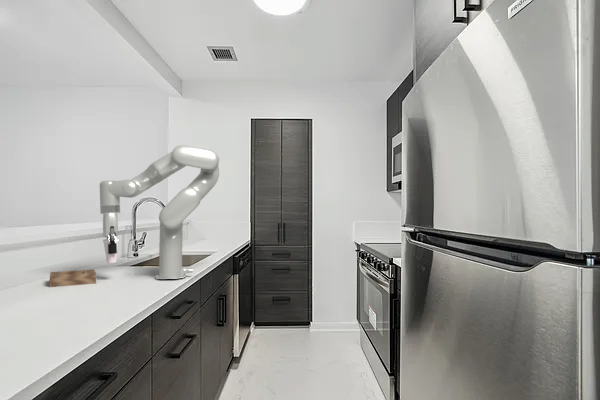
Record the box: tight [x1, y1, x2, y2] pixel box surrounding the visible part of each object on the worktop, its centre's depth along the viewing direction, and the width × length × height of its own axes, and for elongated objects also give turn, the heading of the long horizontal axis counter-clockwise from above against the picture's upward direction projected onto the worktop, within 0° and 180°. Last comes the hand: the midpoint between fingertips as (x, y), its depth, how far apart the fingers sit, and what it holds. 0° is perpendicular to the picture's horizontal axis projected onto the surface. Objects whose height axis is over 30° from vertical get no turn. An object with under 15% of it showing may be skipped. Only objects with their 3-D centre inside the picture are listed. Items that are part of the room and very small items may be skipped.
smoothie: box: [102, 238, 120, 264], centre depth 171 cm, size 6×6×14 cm
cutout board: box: [49, 268, 97, 288], centre depth 166 cm, size 16×12×4 cm
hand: (111, 252), depth 171 cm, fingers closed on smoothie, 6 cm apart
